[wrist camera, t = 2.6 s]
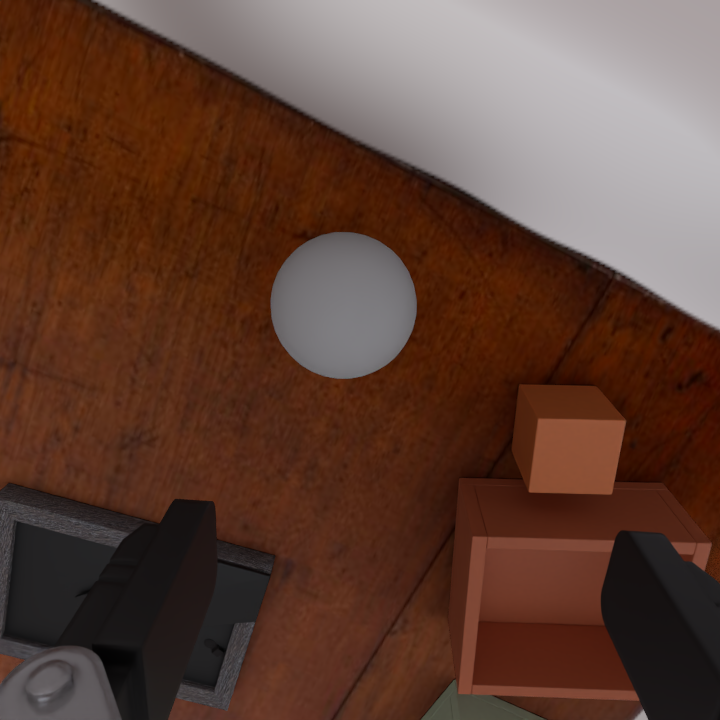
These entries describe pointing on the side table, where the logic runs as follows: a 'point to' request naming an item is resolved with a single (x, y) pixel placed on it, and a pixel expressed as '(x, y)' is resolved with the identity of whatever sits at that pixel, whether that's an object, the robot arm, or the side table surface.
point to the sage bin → (474, 708)
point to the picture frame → (82, 569)
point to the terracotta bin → (547, 584)
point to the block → (566, 439)
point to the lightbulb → (343, 305)
